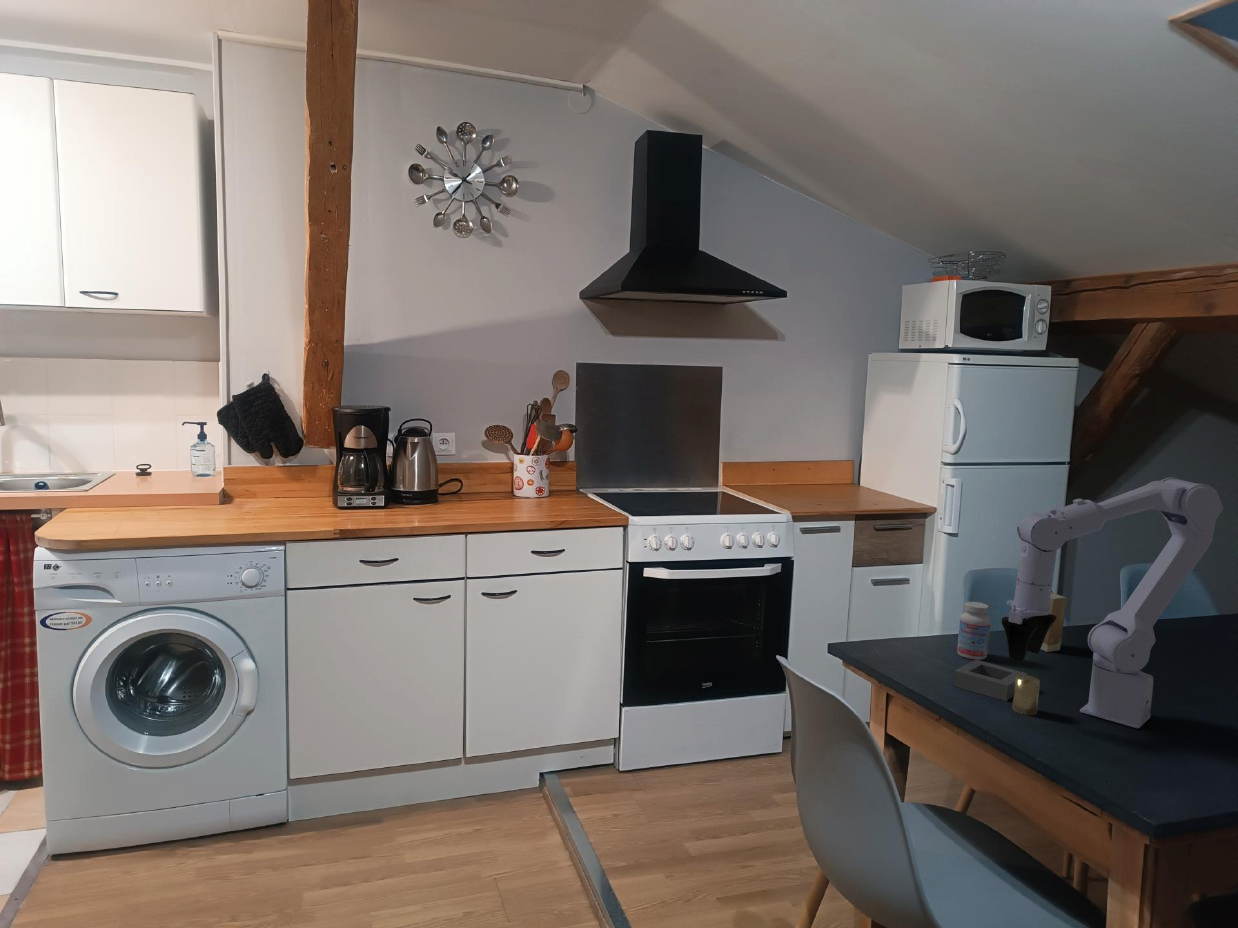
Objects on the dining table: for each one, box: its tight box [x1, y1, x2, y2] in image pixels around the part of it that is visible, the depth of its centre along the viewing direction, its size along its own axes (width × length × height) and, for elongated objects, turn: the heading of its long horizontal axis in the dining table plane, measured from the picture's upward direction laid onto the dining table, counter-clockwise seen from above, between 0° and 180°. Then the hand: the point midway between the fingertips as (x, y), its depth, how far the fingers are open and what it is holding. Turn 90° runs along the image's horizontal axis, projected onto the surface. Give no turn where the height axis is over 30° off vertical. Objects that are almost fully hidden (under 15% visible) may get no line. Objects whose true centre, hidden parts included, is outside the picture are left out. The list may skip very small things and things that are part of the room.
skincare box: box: [1040, 592, 1068, 653], centre depth 193 cm, size 6×4×12 cm
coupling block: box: [952, 659, 1028, 702], centre depth 167 cm, size 10×10×3 cm
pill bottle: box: [956, 601, 992, 661], centre depth 185 cm, size 6×6×11 cm
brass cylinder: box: [1011, 674, 1041, 716], centre depth 156 cm, size 4×4×6 cm
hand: (1024, 655), depth 156 cm, fingers open, 7 cm apart
